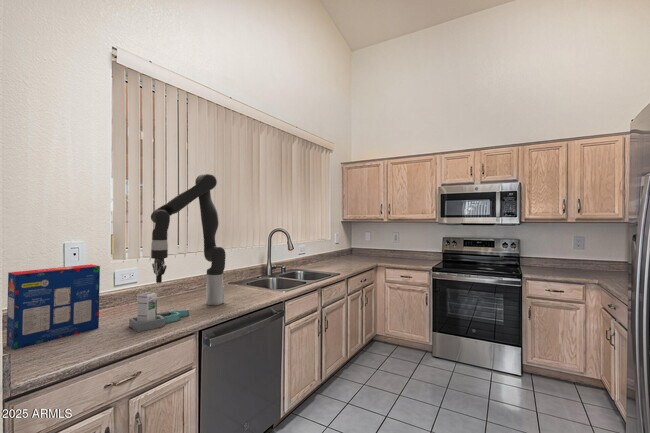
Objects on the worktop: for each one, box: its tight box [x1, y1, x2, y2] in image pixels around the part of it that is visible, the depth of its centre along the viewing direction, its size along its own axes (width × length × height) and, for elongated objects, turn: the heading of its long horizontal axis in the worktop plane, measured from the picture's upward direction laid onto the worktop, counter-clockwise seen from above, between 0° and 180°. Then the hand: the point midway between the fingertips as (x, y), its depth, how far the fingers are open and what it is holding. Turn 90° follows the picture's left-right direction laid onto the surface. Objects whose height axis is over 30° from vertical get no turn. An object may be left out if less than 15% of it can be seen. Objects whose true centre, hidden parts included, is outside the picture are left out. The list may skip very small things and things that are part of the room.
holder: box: [128, 315, 165, 333], centre depth 147 cm, size 11×11×4 cm
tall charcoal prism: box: [157, 310, 171, 317], centre depth 160 cm, size 6×3×3 cm, turn 137°
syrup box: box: [136, 291, 158, 323], centre depth 148 cm, size 6×6×14 cm
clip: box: [159, 312, 181, 324], centre depth 155 cm, size 8×5×3 cm, turn 138°
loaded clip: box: [170, 307, 190, 318], centre depth 164 cm, size 8×5×3 cm, turn 113°
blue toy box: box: [6, 263, 101, 351], centre depth 133 cm, size 28×8×28 cm, turn 149°
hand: (158, 282), depth 164 cm, fingers closed
